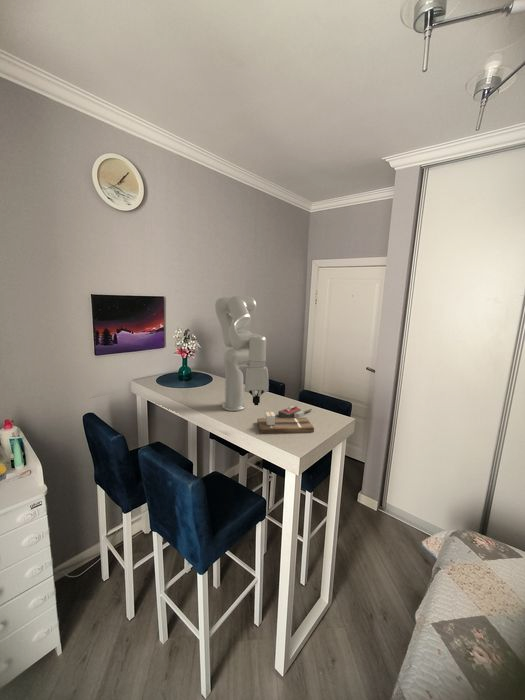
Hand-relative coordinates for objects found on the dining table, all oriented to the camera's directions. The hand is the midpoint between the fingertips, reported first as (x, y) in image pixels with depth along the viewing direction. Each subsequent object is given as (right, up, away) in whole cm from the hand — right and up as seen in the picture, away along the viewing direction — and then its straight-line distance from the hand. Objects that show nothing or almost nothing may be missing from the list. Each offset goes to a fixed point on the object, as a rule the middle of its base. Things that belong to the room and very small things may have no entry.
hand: (256, 404), depth 137 cm
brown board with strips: (+13, -11, +5) cm, 18 cm away
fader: (+6, -9, +3) cm, 11 cm away
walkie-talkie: (+20, -9, +22) cm, 31 cm away
